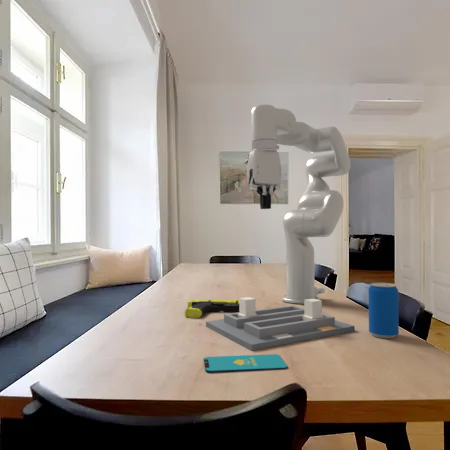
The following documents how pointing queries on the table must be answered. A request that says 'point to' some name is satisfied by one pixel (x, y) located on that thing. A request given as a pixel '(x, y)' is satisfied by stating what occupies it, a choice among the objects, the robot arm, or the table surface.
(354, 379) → the table surface
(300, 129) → the robot arm
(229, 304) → the stun gun
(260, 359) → the smartphone
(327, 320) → the switch board
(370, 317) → the beverage can
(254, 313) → the tab
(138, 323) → the table surface
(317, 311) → the tab
